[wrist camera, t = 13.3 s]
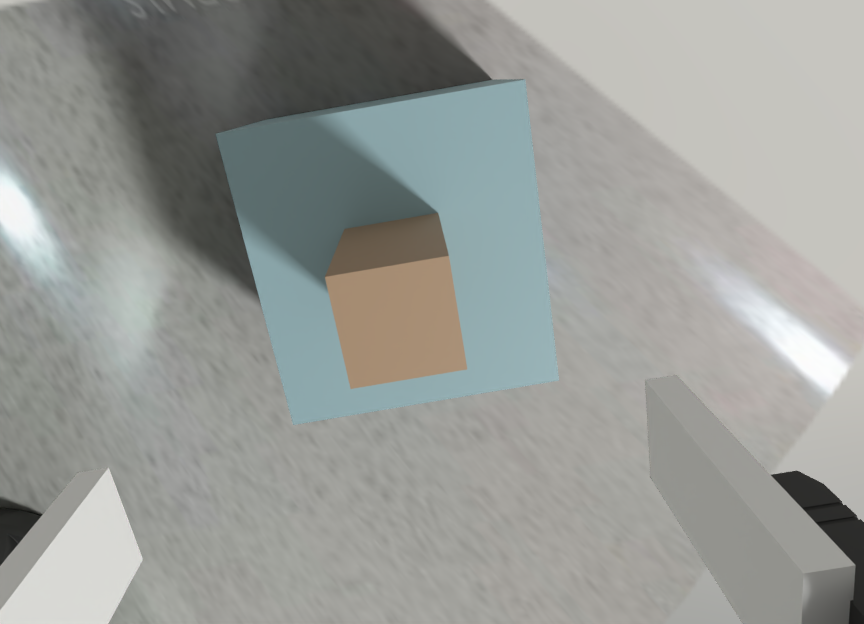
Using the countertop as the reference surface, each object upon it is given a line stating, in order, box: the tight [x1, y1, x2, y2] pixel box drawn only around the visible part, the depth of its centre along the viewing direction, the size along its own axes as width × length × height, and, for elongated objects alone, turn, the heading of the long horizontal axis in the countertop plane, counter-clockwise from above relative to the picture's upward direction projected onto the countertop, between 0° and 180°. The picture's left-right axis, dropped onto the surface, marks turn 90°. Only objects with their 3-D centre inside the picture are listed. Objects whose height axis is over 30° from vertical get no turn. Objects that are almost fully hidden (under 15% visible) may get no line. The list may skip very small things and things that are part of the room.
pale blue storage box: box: [216, 79, 559, 425], centre depth 37 cm, size 16×17×22 cm
